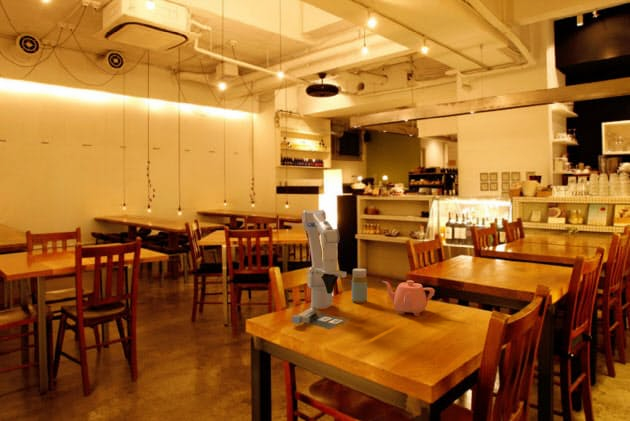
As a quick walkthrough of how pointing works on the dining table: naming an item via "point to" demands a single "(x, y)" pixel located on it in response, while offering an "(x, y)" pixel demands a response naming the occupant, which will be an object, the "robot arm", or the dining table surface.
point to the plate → (314, 321)
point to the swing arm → (304, 315)
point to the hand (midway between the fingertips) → (329, 293)
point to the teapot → (409, 297)
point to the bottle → (359, 286)
